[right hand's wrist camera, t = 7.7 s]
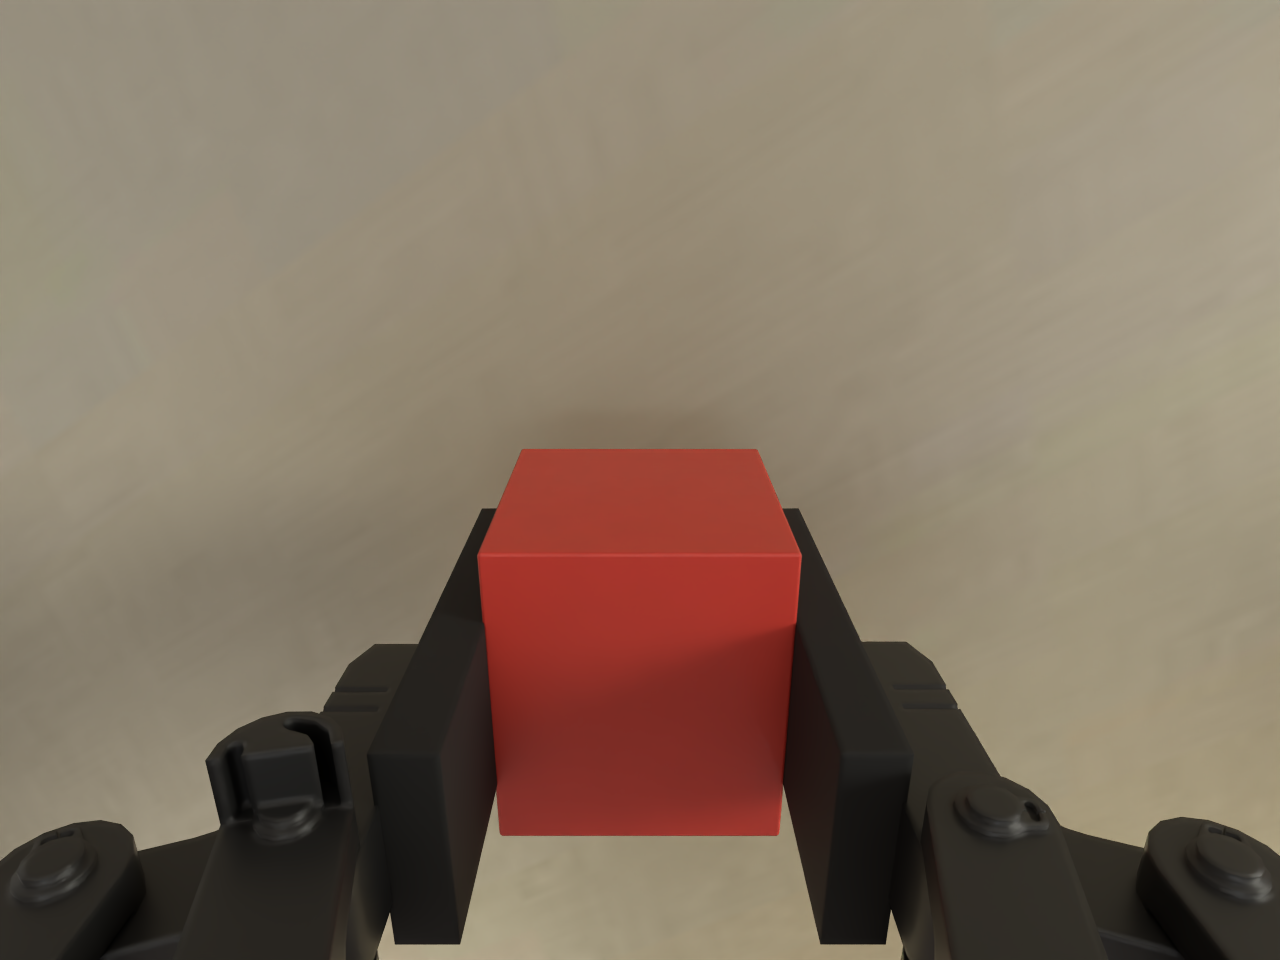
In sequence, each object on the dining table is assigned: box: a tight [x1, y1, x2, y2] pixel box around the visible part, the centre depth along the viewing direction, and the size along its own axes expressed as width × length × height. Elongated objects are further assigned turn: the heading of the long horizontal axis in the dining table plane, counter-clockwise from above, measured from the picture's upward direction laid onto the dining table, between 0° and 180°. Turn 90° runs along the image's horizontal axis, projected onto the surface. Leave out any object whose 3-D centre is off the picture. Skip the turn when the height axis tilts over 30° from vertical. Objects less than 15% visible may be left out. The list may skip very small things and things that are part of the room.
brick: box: [477, 449, 802, 836], centre depth 13 cm, size 4×5×4 cm
